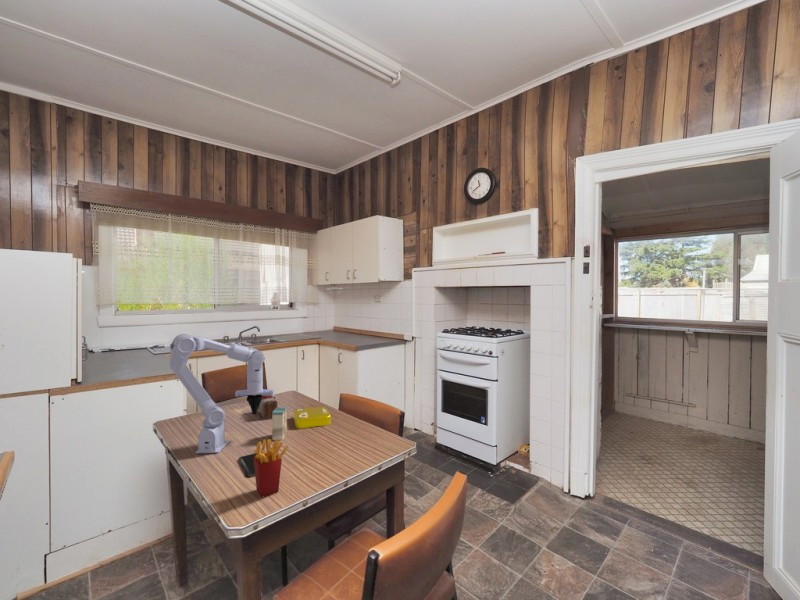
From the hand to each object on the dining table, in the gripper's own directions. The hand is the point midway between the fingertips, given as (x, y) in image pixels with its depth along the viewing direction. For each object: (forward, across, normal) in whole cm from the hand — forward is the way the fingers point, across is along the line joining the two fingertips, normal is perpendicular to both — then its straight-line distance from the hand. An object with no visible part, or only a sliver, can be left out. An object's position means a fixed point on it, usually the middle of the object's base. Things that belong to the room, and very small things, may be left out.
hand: (255, 413), depth 140 cm
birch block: (+10, -10, 0) cm, 14 cm away
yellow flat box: (+10, -20, -17) cm, 28 cm away
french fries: (+10, -16, +38) cm, 43 cm away
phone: (+10, -8, +23) cm, 26 cm away
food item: (+10, +3, -27) cm, 29 cm away
